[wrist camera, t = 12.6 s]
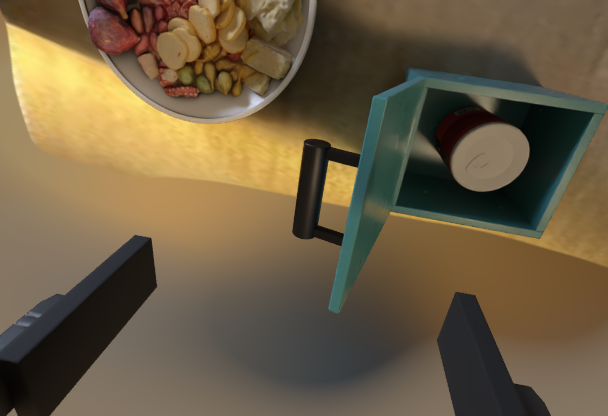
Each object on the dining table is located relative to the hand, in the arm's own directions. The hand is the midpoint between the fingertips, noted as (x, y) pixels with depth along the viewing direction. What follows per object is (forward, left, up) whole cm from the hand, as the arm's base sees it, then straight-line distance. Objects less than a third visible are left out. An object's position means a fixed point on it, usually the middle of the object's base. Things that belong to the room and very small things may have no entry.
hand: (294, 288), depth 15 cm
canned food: (-13, +11, -38) cm, 41 cm away
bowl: (+8, -22, -39) cm, 45 cm away
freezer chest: (-12, +10, -39) cm, 42 cm away
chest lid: (-4, +3, -16) cm, 17 cm away
